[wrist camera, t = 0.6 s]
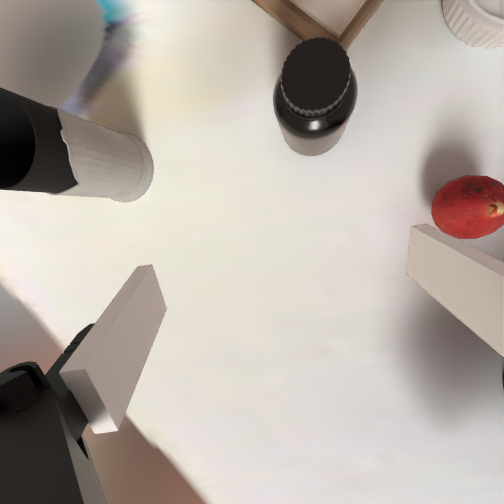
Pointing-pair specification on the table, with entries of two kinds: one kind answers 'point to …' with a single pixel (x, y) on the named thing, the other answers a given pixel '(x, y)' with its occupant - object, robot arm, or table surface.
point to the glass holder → (68, 153)
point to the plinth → (322, 17)
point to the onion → (469, 207)
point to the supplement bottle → (315, 96)
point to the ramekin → (476, 21)
